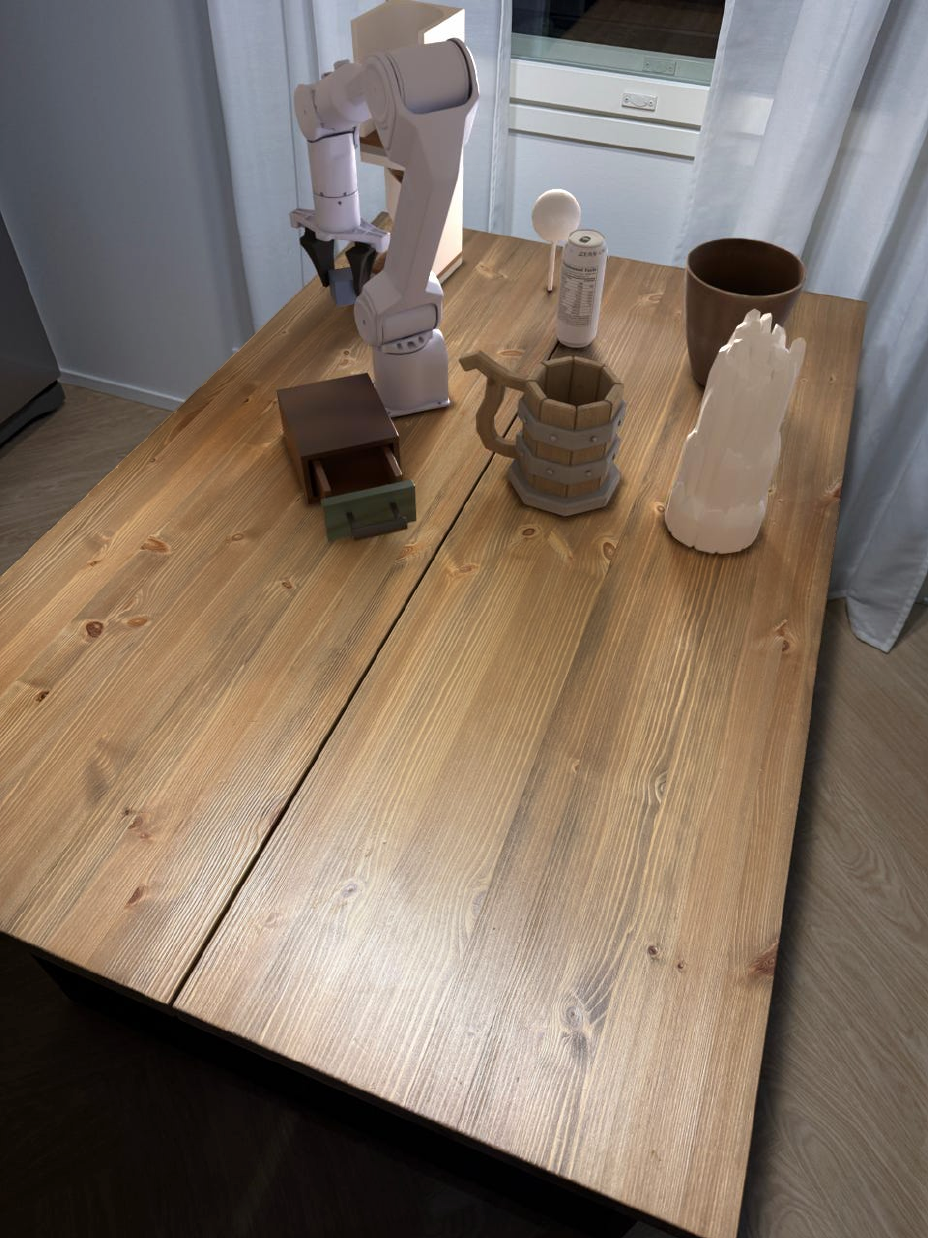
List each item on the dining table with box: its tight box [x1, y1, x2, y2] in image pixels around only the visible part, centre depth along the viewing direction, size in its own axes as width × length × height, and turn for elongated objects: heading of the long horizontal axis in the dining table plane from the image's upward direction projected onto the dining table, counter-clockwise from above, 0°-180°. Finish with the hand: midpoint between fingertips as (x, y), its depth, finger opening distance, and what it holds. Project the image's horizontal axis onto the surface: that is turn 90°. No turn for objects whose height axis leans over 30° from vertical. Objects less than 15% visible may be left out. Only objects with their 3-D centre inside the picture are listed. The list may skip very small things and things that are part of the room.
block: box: [328, 266, 357, 308], centre depth 122 cm, size 4×4×4 cm
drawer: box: [308, 444, 417, 542], centre depth 102 cm, size 17×10×5 cm, turn 19°
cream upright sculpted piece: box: [664, 309, 807, 555], centre depth 95 cm, size 11×11×25 cm
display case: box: [350, 0, 465, 285], centre depth 129 cm, size 11×11×35 cm
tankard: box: [458, 349, 628, 517], centre depth 104 cm, size 20×13×15 cm, turn 65°
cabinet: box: [275, 372, 402, 505], centre depth 108 cm, size 14×12×7 cm
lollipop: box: [531, 188, 582, 291], centre depth 133 cm, size 7×7×15 cm
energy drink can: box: [554, 228, 609, 349], centre depth 124 cm, size 6×6×15 cm
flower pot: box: [683, 237, 808, 387], centre depth 118 cm, size 15×15×16 cm
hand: (345, 288), depth 123 cm, fingers closed on block, 5 cm apart
